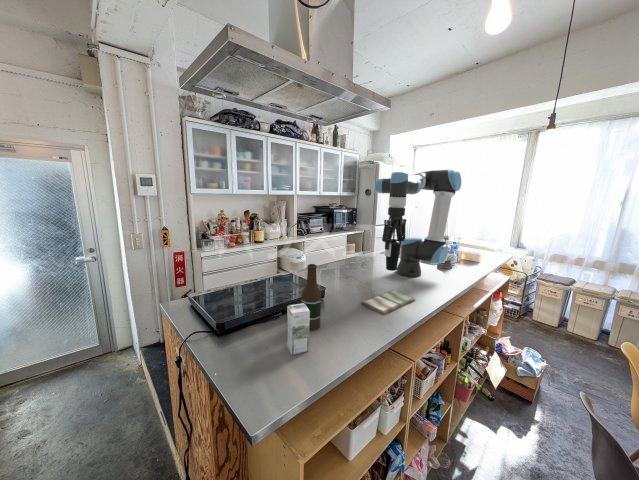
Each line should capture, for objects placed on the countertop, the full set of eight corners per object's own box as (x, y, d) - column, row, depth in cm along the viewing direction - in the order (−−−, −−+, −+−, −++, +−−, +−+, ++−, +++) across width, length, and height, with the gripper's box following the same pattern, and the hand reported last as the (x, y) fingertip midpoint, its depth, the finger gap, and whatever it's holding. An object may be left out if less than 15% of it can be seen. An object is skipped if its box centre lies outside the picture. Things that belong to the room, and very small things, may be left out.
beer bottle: (298, 322, 98) (298, 262, 93) (316, 319, 101) (318, 261, 96) (303, 332, 91) (305, 268, 86) (323, 329, 93) (326, 267, 89)
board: (392, 292, 130) (392, 289, 130) (415, 300, 120) (415, 298, 120) (361, 303, 115) (361, 301, 115) (384, 315, 106) (384, 312, 105)
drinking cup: (395, 272, 116) (399, 230, 112) (380, 269, 121) (383, 228, 117) (402, 269, 122) (405, 228, 118) (387, 265, 127) (390, 226, 123)
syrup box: (303, 342, 85) (303, 302, 82) (309, 352, 80) (310, 309, 77) (286, 345, 83) (286, 304, 80) (291, 356, 78) (292, 312, 75)
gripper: (402, 206, 125) (398, 251, 129) (376, 206, 113) (372, 256, 117) (416, 207, 119) (411, 254, 123) (389, 207, 107) (385, 259, 111)
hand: (392, 255), depth 120 cm, fingers closed on drinking cup, 7 cm apart
